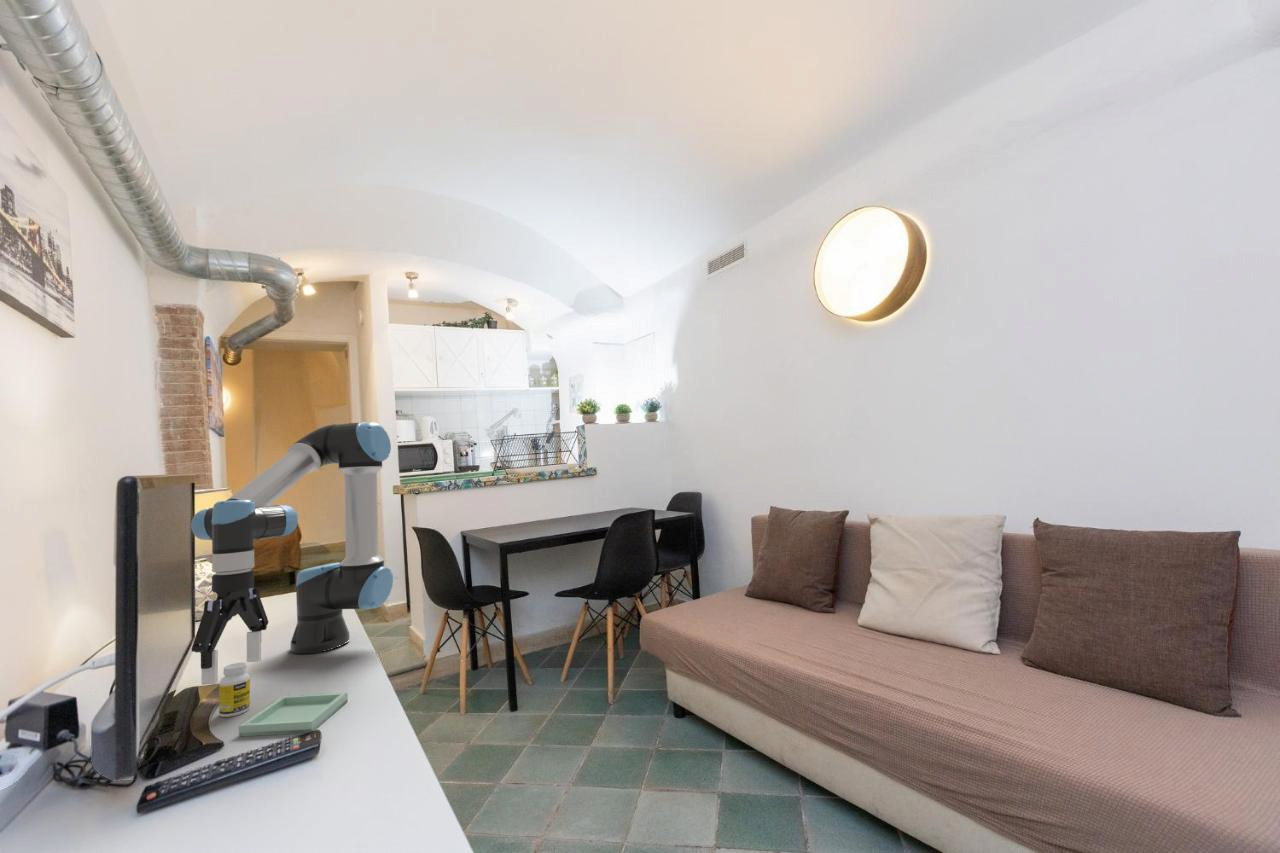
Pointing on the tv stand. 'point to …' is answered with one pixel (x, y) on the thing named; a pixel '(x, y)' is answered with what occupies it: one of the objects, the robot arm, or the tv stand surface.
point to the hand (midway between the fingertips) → (232, 672)
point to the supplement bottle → (234, 690)
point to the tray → (294, 714)
